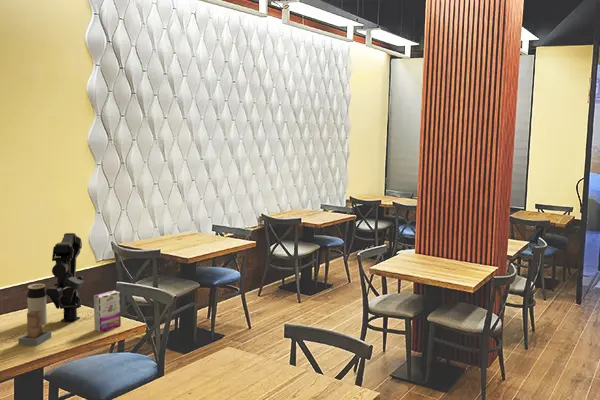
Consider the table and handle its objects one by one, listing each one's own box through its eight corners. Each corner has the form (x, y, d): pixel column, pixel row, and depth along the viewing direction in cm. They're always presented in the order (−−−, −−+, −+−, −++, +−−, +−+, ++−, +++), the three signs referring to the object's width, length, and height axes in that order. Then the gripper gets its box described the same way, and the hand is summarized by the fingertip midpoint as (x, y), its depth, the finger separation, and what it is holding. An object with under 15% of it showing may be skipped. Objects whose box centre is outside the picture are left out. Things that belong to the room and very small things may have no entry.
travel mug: (50, 320, 275) (49, 284, 273) (40, 326, 267) (40, 288, 265) (34, 319, 276) (33, 283, 273) (24, 325, 268) (23, 287, 266)
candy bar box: (114, 323, 274) (114, 289, 272) (121, 326, 271) (120, 292, 269) (93, 329, 265) (93, 294, 263) (100, 332, 262) (99, 297, 260)
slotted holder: (33, 335, 256) (33, 330, 255) (51, 337, 254) (51, 331, 254) (18, 344, 245) (18, 338, 245) (36, 345, 244) (36, 340, 244)
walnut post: (34, 338, 253) (34, 309, 251) (42, 339, 252) (41, 310, 250) (27, 342, 248) (27, 313, 246) (35, 343, 247) (34, 313, 246)
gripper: (68, 277, 248) (68, 313, 250) (90, 268, 266) (91, 301, 268) (44, 276, 250) (45, 311, 252) (68, 266, 268) (69, 299, 270)
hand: (63, 305), depth 260 cm, fingers open, 9 cm apart
